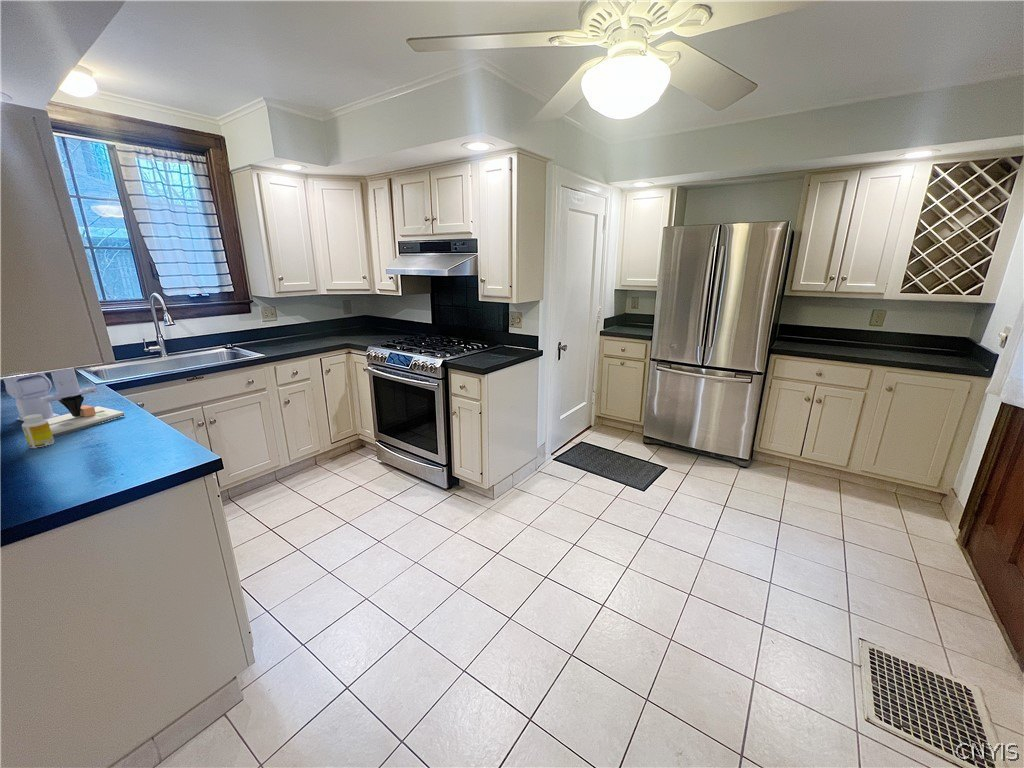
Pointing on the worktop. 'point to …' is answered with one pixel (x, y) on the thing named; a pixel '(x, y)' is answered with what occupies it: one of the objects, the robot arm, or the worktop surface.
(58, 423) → the white flat board
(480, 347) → the worktop surface
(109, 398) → the worktop surface
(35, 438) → the supplement bottle
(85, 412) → the switch
